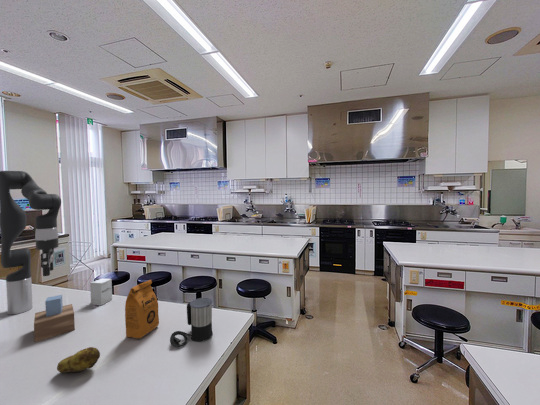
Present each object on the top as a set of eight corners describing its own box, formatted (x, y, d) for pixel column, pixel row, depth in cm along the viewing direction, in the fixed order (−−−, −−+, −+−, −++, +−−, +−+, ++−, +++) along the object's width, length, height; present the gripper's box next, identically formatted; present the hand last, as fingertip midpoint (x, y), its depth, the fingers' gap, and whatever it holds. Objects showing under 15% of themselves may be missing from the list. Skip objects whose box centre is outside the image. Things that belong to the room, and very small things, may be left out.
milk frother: (217, 332, 105) (216, 299, 104) (194, 354, 90) (193, 316, 89) (190, 326, 110) (189, 294, 109) (165, 347, 95) (164, 310, 94)
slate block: (48, 312, 109) (47, 297, 109) (62, 309, 112) (62, 294, 111) (46, 316, 105) (45, 301, 104) (61, 313, 108) (60, 298, 107)
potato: (80, 359, 88) (79, 338, 88) (105, 367, 84) (104, 345, 84) (53, 375, 80) (52, 352, 80) (79, 385, 76) (78, 360, 76)
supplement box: (101, 305, 132) (100, 283, 131) (90, 304, 133) (89, 282, 133) (112, 299, 139) (112, 278, 139) (102, 299, 140) (101, 278, 140)
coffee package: (162, 326, 110) (161, 279, 109) (139, 342, 98) (138, 289, 97) (146, 322, 113) (145, 277, 112) (122, 337, 101) (120, 287, 101)
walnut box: (35, 330, 109) (35, 313, 108) (72, 319, 117) (72, 303, 117) (34, 342, 99) (33, 324, 99) (74, 330, 108) (74, 313, 108)
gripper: (39, 236, 111) (40, 270, 112) (31, 241, 99) (33, 279, 100) (60, 234, 115) (61, 267, 116) (55, 239, 104) (56, 275, 104)
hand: (48, 273), depth 108 cm, fingers open, 8 cm apart
